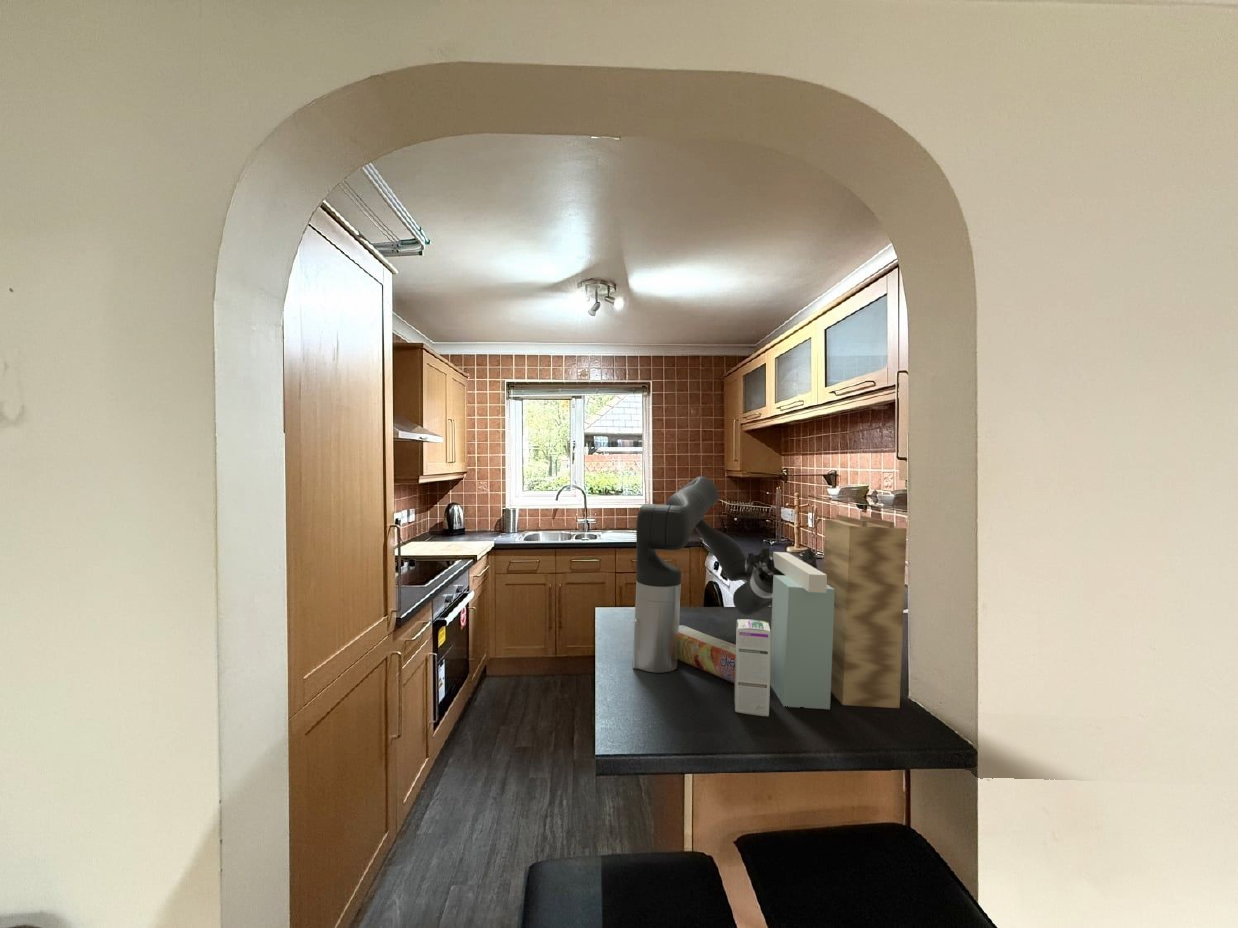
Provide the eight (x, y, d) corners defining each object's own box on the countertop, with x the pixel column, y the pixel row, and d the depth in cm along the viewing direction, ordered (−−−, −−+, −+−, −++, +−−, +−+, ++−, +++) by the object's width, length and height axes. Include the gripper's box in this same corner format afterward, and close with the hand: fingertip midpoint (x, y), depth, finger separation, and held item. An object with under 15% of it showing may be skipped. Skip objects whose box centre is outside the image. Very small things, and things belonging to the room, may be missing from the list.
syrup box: (769, 717, 86) (773, 630, 86) (733, 712, 87) (737, 627, 87) (766, 702, 92) (770, 620, 92) (733, 697, 93) (736, 617, 93)
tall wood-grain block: (842, 704, 92) (850, 520, 92) (818, 677, 104) (825, 514, 104) (899, 707, 92) (906, 522, 92) (868, 680, 104) (875, 516, 104)
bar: (808, 591, 87) (809, 574, 87) (772, 565, 110) (773, 551, 110) (826, 592, 87) (827, 575, 87) (787, 566, 110) (787, 552, 110)
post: (783, 706, 90) (788, 586, 90) (769, 682, 100) (773, 574, 100) (829, 709, 90) (834, 589, 90) (810, 684, 100) (814, 576, 100)
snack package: (766, 684, 100) (768, 650, 100) (746, 693, 95) (748, 657, 95) (684, 652, 116) (685, 621, 116) (663, 658, 111) (665, 627, 111)
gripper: (737, 560, 120) (752, 533, 106) (798, 563, 120) (821, 536, 106) (739, 592, 117) (755, 568, 103) (802, 595, 116) (827, 572, 102)
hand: (789, 552), depth 104 cm, fingers open, 8 cm apart
